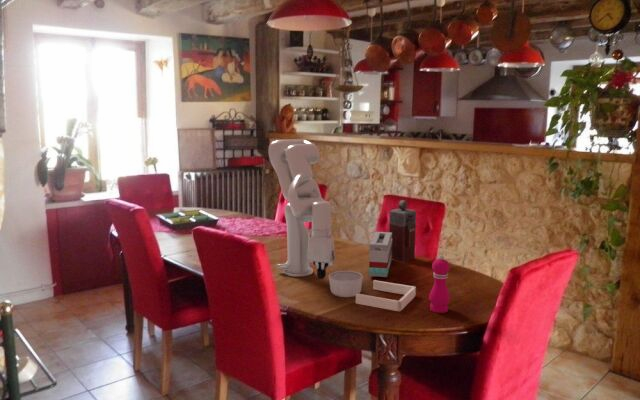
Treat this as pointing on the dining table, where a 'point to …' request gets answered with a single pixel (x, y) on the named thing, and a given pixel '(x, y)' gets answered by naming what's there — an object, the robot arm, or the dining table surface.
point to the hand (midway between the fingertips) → (321, 277)
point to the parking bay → (385, 303)
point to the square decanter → (403, 232)
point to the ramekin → (345, 283)
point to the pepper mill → (440, 286)
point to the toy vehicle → (380, 254)
